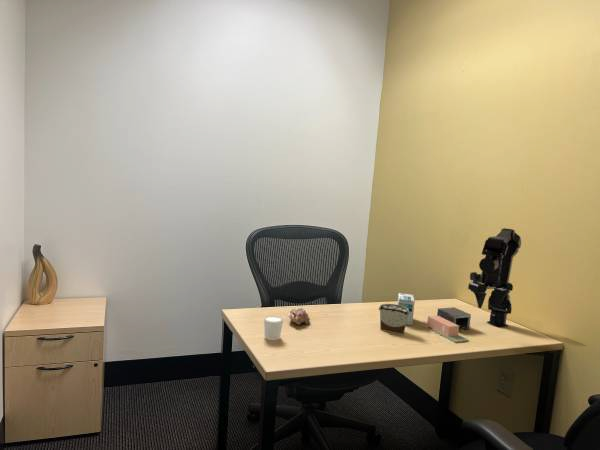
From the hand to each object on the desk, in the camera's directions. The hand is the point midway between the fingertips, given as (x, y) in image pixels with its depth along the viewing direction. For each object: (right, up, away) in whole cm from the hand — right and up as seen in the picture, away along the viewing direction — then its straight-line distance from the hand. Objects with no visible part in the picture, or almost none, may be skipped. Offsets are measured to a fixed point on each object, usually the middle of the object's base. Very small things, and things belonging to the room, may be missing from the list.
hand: (488, 307), depth 187 cm
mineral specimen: (-76, -7, +1) cm, 77 cm away
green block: (-16, -11, -1) cm, 20 cm away
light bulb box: (-31, -9, +14) cm, 35 cm away
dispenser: (-11, -10, +11) cm, 18 cm away
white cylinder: (-86, -8, -17) cm, 88 cm away
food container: (-38, -10, +1) cm, 39 cm away
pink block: (-18, -10, +3) cm, 20 cm away
